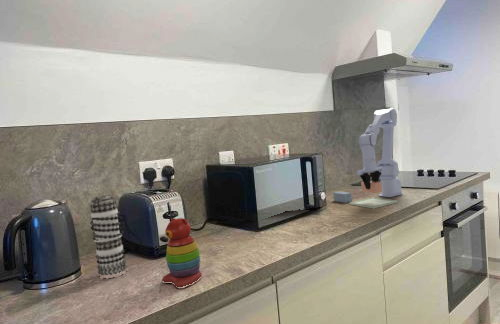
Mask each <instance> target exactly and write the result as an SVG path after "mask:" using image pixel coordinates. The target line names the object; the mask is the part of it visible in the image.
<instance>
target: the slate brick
mask: <svg viewBox="0 0 500 324" xmlns="http://www.w3.org/2000/svg"><path fill="white" fill-rule="evenodd" d="M332 193H333V194H332V195H333V201H334V202H338V203H343V204H346V203H350V202H353V200H352V199H353V197H352V193H351V192H347V191H335V192H332Z"/></svg>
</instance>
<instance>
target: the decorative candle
mask: <svg viewBox="0 0 500 324" xmlns="http://www.w3.org/2000/svg"><path fill="white" fill-rule="evenodd" d="M88 205H89V206H90V211H91V212H90V217H91V220H90V222H89V224H90V225H91V226H90V229H91V231H93V232H92V233H91V235H92V237H93V238H92V240H93V242H94V243H95V247H96V249H95V252H96V255H95V258H96V263H97V266H96V267H97V269H98V270H97V273H98V275H99V274H101V275H112V274H117V273H120V272H122V271H124V270H125V269H127V267H128V265H127V264H126V263H127V260H126V259H125V257H126V255H125V254H124V253H125V251H126V250H124V245H123V241H122V237H123V233H122V232H120V231H121V230H122V229H123V228H122V226H121V225H122V222H121V221H119V220H120V219H121V218H122V216H121V215H120V213H121V211H118V208H117V199H116V198H114V197H113V196H112V195H111V194H106V195H99V196H95V197H93V198H92V199H91V201H90V202H89V203H88Z"/></svg>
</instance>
